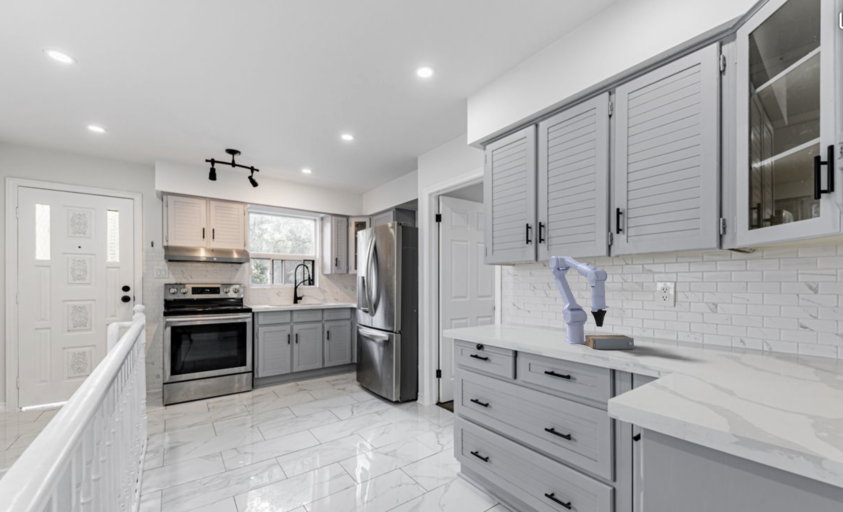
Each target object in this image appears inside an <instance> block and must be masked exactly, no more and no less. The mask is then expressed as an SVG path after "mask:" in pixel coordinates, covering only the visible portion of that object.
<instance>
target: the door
mask: <svg viewBox="0 0 843 512" xmlns="http://www.w3.org/2000/svg"><path fill="white" fill-rule="evenodd" d="M593 342H594V343H595V344H594V348H595V349H594V350H615V349H616V350H617V349H618V350H629V349H630V350H631V349H633V350H635V339H634V337H631V338H595V339H593Z"/></svg>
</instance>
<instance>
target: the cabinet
mask: <svg viewBox="0 0 843 512" xmlns="http://www.w3.org/2000/svg"><path fill="white" fill-rule="evenodd" d="M595 338H632V337H631V336H627V335H624V334H597V335H596V334H590V335H589V334H584V341H585V342H586V344H585V346H586V347H588V348H591V349H593V350H596V349H595V348H594V344H595V343H594V342H593V339H595Z"/></svg>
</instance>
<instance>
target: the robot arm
mask: <svg viewBox="0 0 843 512" xmlns="http://www.w3.org/2000/svg"><path fill="white" fill-rule="evenodd" d="M548 266H549V269H550V271H551V273H552V276H553V280H554V282H555V284H556V287H557V290H558V292H559V295H560V297H561V299H562V302H563V305H564V307H563V309H562V310H561V311H562V315H563V320H564V322H565V324H566V329H565V330H566V339H564V341H565V342H567V343H568V344H570V345H586V340H585V329H584V328H585V327H584V325H585V323H586V322H587V320H588V314H587V312H586V311H585V310H584V309H583V308H584V307H583V306H581V305H580V304H578V303H577V302H576V299H575V296H574V295H573V292H572V290H571V289H572V288H570V285H569V283H568V280H567V278H566V275H567V274H568V272H569V271H570V269H571V268H572V269H574V270H577V273H578V274H579V275H581V276H583V277H585V278H587V280H588V284H589V286H590V296H591V297H590V301H591V304H590V305H591V306H590V308H591V310H590V313H591V314H592V316H593V319H594V322H595V326H596V327H597V328H602V327H603V325H604V320H605V316H606V315H607V311H608V310H606V309H608V308H610V307H609V306H608V305H606V287H605V286H606V285H605V283H606V281H607V279H608V274H607V271H606V270H604V269H603V268H599V269H598V268H597V267H596V266H592V265H590V263H588V262H583V263H581V262H579V261H577V260H575V259H574V258H573V257H572V256H569V255H564V256H563V255H561V256H560V255H559V256H556V255H552V256H551V257H550V259H549V262H548Z"/></svg>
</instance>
